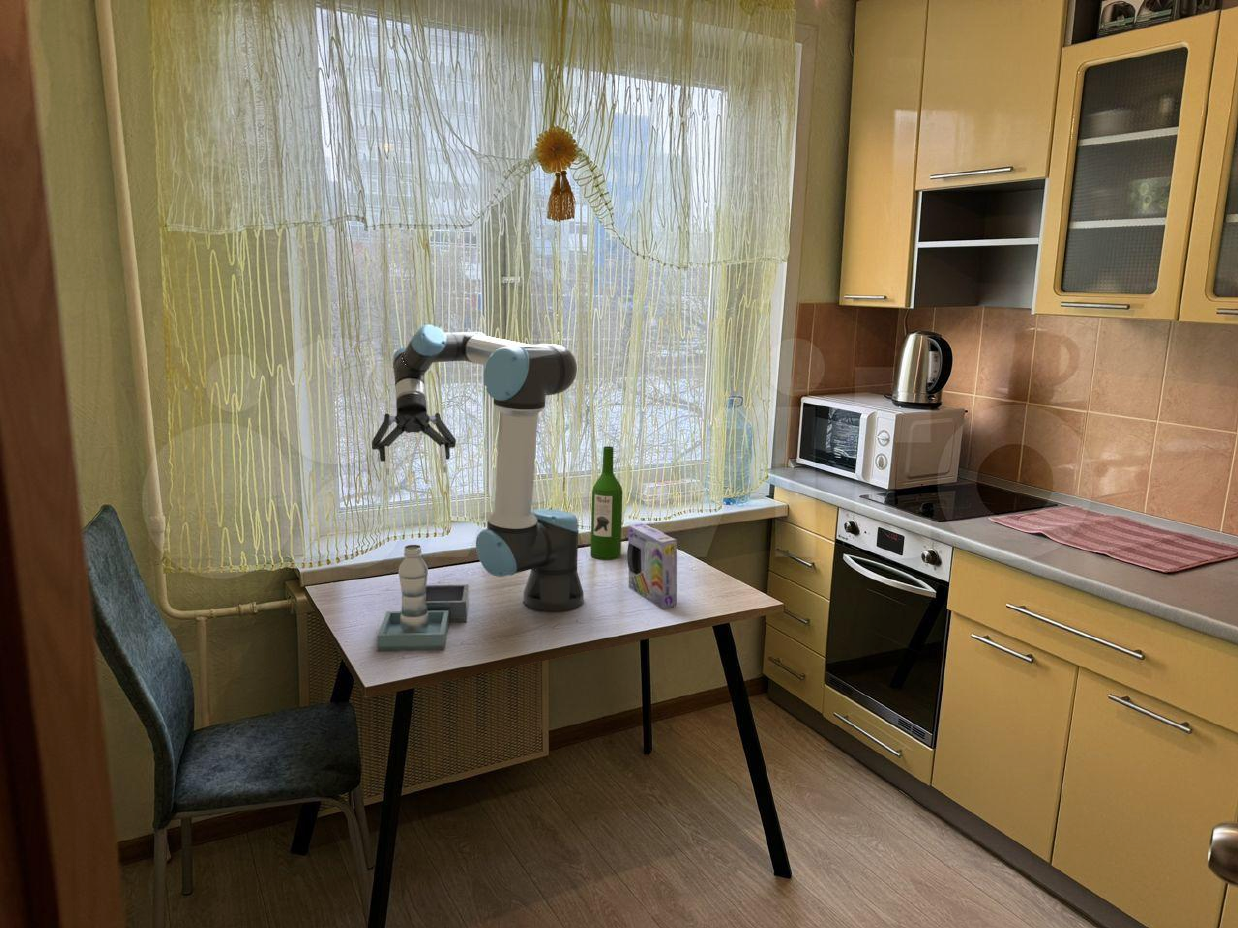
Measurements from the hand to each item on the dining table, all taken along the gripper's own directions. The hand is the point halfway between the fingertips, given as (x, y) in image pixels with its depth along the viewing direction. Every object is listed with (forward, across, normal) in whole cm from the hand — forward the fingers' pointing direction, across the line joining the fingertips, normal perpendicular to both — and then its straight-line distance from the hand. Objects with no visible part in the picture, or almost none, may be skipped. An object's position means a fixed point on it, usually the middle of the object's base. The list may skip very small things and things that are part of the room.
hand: (416, 470), depth 210 cm
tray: (+40, +3, -6) cm, 41 cm away
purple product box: (+32, -57, -15) cm, 67 cm away
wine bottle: (+7, -55, -40) cm, 68 cm away
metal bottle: (+40, +3, -5) cm, 40 cm away
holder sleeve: (+31, -5, -15) cm, 35 cm away
